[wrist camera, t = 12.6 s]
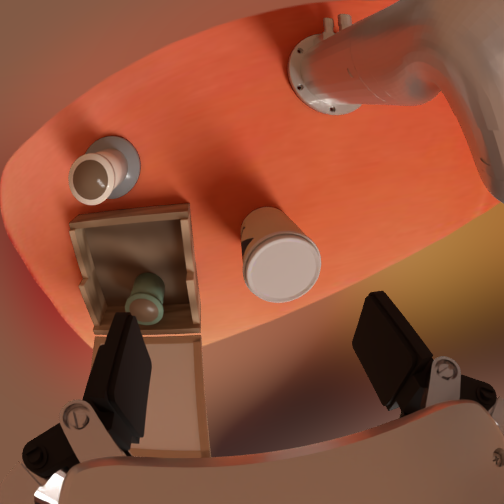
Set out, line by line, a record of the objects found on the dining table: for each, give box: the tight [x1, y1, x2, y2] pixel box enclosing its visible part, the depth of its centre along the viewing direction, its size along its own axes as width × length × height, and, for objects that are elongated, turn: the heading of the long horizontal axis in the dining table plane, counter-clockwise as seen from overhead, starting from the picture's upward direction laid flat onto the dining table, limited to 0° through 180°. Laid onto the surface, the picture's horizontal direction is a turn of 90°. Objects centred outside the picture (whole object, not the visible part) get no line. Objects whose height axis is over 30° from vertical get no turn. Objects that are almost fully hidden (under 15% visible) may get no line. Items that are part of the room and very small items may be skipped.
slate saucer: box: [85, 136, 141, 199], centre depth 34 cm, size 9×9×1 cm
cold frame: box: [69, 203, 201, 335], centre depth 38 cm, size 18×18×7 cm
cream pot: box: [69, 148, 128, 205], centre depth 30 cm, size 6×6×7 cm
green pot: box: [125, 273, 165, 325], centre depth 40 cm, size 6×6×6 cm
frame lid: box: [91, 335, 211, 458], centre depth 34 cm, size 19×18×1 cm
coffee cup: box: [241, 207, 321, 303], centre depth 37 cm, size 9×9×12 cm
